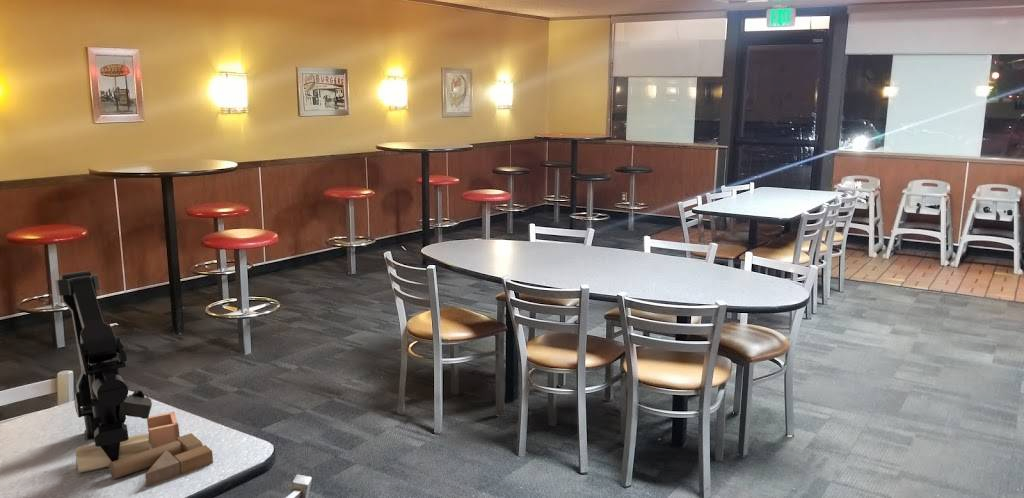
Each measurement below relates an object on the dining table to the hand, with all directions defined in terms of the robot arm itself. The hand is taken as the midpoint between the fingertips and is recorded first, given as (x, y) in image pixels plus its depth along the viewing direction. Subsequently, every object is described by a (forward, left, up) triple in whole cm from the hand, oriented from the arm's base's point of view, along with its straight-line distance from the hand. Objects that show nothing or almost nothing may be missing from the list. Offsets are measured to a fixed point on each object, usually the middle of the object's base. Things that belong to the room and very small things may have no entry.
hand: (114, 457), depth 170 cm
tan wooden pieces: (+6, +18, 0) cm, 19 cm away
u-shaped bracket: (-6, +10, -2) cm, 12 cm away
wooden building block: (0, 0, -1) cm, 1 cm away
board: (-4, +3, -2) cm, 6 cm away
